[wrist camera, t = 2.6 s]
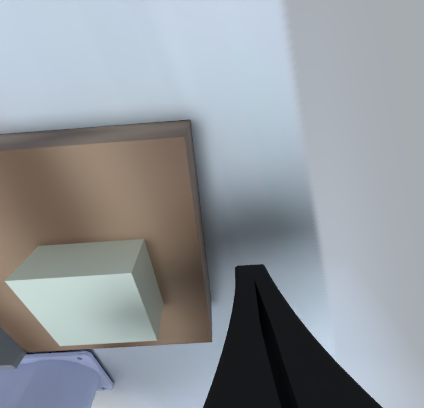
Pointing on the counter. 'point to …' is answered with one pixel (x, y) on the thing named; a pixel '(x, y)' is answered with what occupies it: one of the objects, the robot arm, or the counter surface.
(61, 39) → the counter surface
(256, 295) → the robot arm
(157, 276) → the plate
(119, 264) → the tile
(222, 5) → the counter surface
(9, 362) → the box
